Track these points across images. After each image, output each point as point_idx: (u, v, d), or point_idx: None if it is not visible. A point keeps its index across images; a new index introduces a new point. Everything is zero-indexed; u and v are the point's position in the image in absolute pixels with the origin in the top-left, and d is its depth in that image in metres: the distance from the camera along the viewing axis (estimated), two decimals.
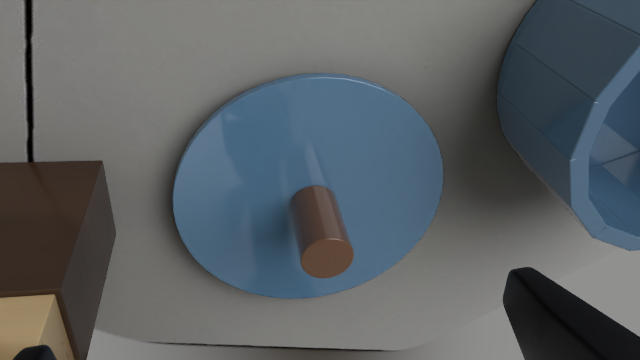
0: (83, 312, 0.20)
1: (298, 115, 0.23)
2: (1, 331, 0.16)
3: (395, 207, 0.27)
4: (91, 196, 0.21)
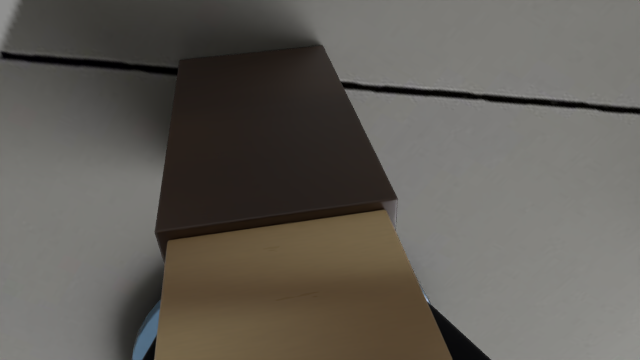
0: None
1: None
2: None
3: None
4: None
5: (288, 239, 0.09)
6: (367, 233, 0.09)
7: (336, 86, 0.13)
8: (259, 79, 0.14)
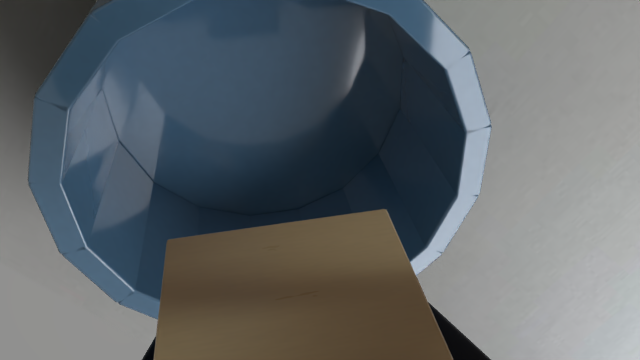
0: None
1: None
2: None
3: None
4: None
5: (288, 238, 0.09)
6: (367, 232, 0.09)
7: None
8: None
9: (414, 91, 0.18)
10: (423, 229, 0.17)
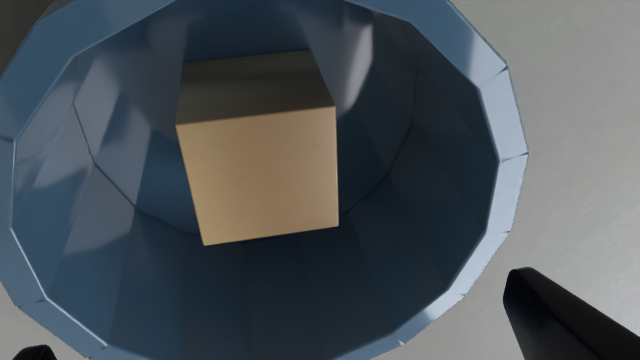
0: None
1: None
2: None
3: None
4: None
5: (252, 60, 0.15)
6: (297, 57, 0.16)
7: None
8: None
9: (431, 106, 0.16)
10: (443, 268, 0.15)
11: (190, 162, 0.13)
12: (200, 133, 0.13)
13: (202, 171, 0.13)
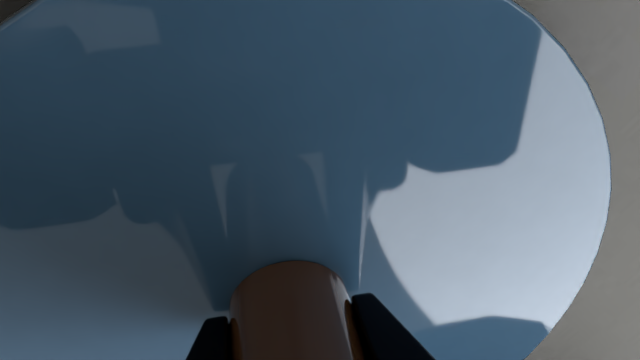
0: None
1: (529, 228, 0.10)
2: None
3: None
4: None
5: None
6: None
7: None
8: None
9: None
10: None
11: None
12: None
13: None
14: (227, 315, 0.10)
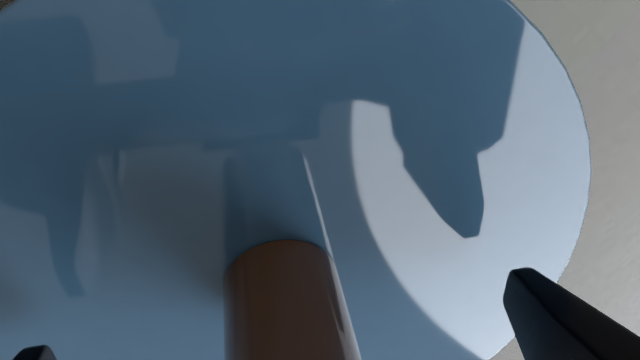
0: None
1: (513, 210, 0.11)
2: None
3: None
4: None
5: None
6: None
7: None
8: None
9: None
10: None
11: None
12: None
13: None
14: (221, 293, 0.11)
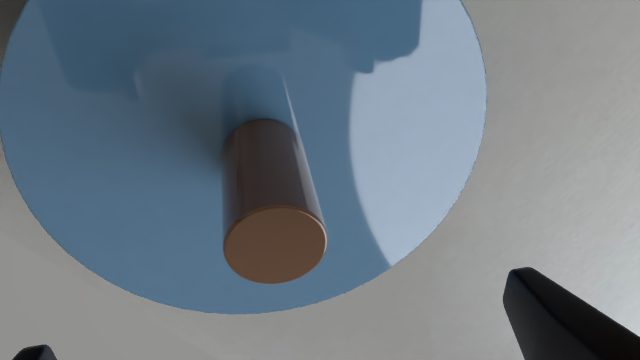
0: None
1: (430, 103, 0.15)
2: None
3: None
4: None
5: None
6: None
7: None
8: None
9: None
10: None
11: None
12: None
13: None
14: (219, 163, 0.15)
